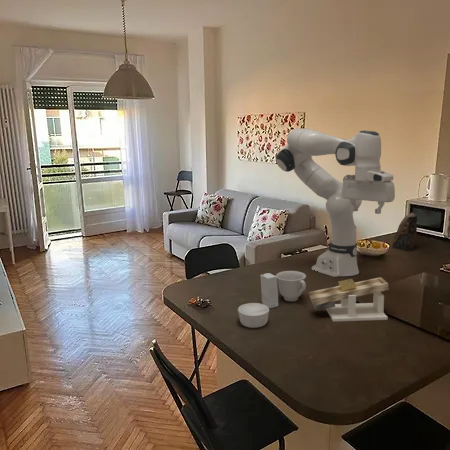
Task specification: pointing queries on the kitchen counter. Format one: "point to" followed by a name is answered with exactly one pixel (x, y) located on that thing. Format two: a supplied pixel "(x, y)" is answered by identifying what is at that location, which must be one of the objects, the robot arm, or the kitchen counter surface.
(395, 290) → the kitchen counter surface
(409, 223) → the owl
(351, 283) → the tan rectangular block
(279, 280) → the teacup
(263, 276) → the skincare box
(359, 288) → the beam
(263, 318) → the ramekin
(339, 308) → the pivot stand
